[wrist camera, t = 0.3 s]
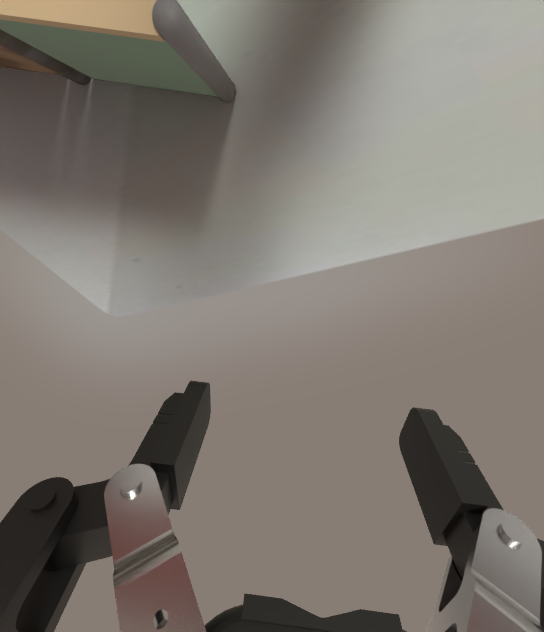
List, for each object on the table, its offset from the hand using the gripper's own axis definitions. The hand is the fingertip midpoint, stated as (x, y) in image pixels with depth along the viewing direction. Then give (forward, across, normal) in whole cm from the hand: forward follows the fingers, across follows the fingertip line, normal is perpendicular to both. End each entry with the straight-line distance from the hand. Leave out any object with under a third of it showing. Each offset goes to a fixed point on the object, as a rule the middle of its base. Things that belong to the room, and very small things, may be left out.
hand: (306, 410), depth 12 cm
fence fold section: (+30, +17, -15) cm, 37 cm away
